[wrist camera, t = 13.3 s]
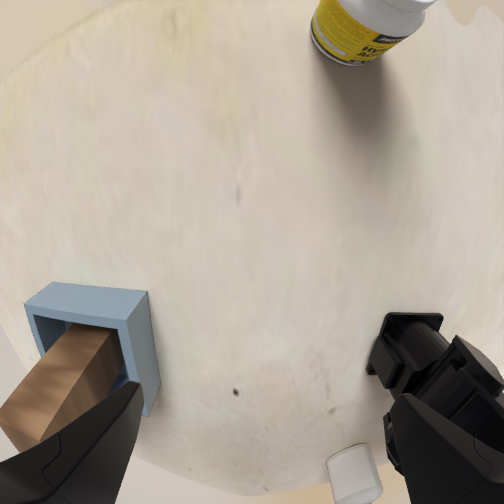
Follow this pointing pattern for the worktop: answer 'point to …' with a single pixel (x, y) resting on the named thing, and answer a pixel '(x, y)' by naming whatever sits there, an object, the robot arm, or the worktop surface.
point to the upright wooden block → (63, 384)
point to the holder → (104, 315)
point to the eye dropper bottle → (354, 476)
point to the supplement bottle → (364, 27)
